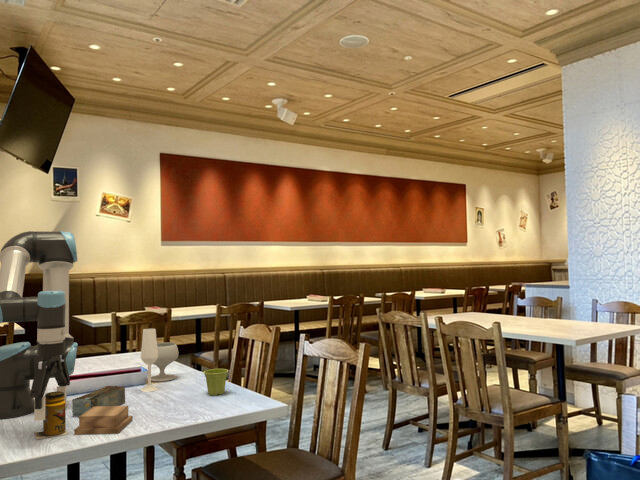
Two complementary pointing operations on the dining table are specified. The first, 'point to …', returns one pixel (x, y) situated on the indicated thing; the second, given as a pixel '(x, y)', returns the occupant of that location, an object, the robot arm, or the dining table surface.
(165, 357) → the chalice
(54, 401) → the condiment
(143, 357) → the champagne flute
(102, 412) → the walnut plinth
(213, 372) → the plant pot
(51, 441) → the dining table surface
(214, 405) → the dining table surface
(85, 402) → the beverage carton
